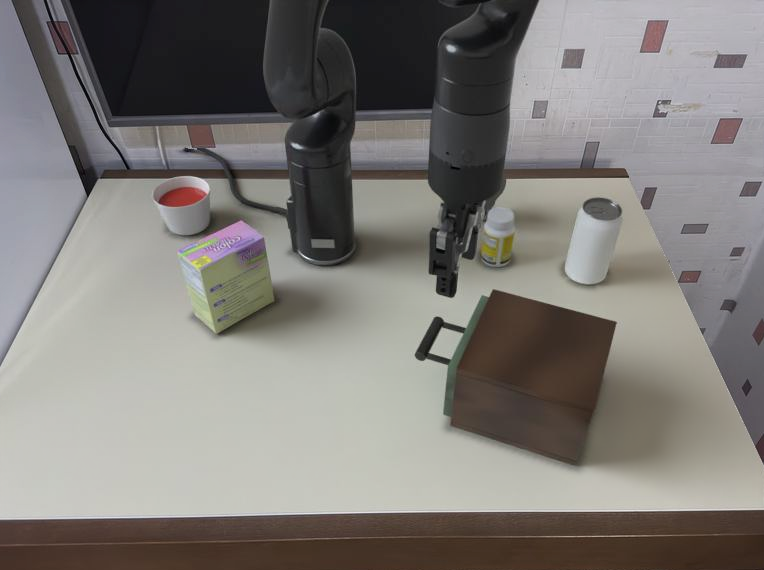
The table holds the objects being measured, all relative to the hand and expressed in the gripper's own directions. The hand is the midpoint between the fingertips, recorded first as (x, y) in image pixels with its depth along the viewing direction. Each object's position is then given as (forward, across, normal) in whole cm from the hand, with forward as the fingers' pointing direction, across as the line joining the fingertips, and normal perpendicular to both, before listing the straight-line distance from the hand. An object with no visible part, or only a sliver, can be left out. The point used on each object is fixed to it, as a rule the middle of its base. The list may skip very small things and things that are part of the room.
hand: (456, 274), depth 77 cm
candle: (+18, -16, -51) cm, 56 cm away
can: (+18, -29, +13) cm, 36 cm away
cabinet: (+18, 0, +11) cm, 21 cm away
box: (+18, -1, -33) cm, 38 cm away
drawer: (+17, 0, +6) cm, 18 cm away
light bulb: (+18, -37, -6) cm, 42 cm away
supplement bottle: (+18, -27, -1) cm, 32 cm away
